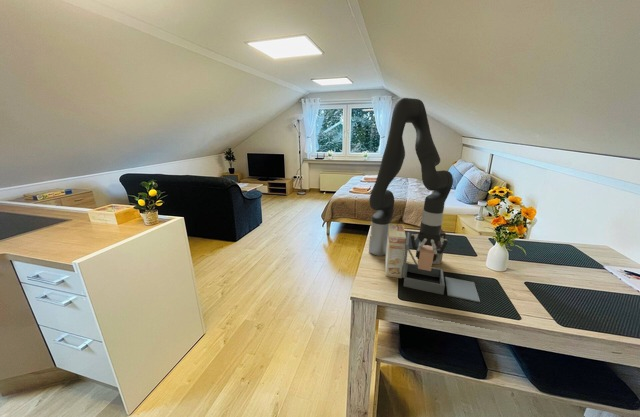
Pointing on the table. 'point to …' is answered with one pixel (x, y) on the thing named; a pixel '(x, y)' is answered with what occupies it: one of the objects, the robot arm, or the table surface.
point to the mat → (461, 289)
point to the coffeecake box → (395, 250)
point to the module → (426, 258)
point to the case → (414, 269)
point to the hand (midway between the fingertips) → (425, 259)
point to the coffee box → (439, 256)
